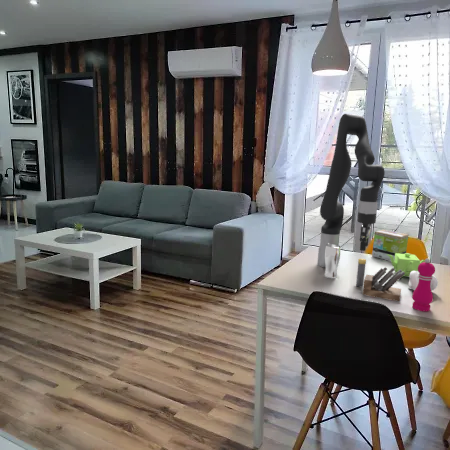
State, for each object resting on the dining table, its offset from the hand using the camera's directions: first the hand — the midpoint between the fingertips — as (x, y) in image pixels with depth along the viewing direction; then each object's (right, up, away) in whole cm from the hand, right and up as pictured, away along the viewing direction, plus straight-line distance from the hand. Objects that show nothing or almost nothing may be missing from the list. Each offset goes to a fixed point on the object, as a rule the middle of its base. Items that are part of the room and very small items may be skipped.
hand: (363, 248), depth 182 cm
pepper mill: (+15, -22, -20) cm, 34 cm away
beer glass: (-11, -14, +15) cm, 23 cm away
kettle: (+26, -15, +20) cm, 35 cm away
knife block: (+5, -19, -7) cm, 21 cm away
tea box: (+30, -9, +50) cm, 59 cm away
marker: (-1, -17, +3) cm, 17 cm away
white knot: (+24, -19, 0) cm, 30 cm away
